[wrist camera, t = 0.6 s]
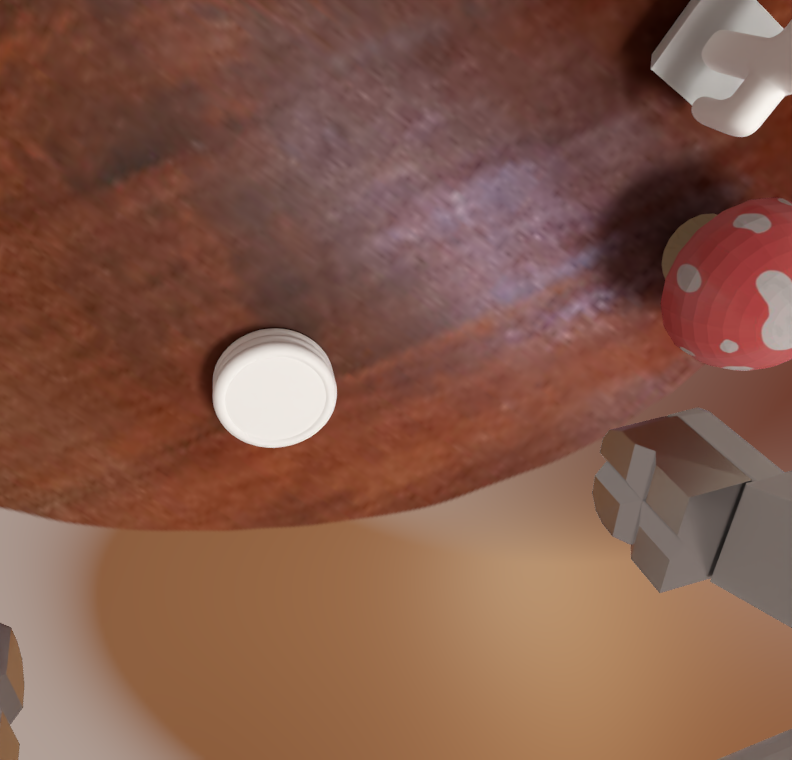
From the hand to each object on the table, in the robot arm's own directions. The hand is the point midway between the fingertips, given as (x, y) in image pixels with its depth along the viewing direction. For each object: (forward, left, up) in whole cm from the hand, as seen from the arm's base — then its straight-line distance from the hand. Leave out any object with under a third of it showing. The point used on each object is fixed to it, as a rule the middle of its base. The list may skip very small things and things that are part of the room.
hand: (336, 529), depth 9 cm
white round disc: (+17, +19, -45) cm, 51 cm away
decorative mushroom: (-16, +36, -45) cm, 59 cm away
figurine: (-24, +22, -45) cm, 55 cm away
